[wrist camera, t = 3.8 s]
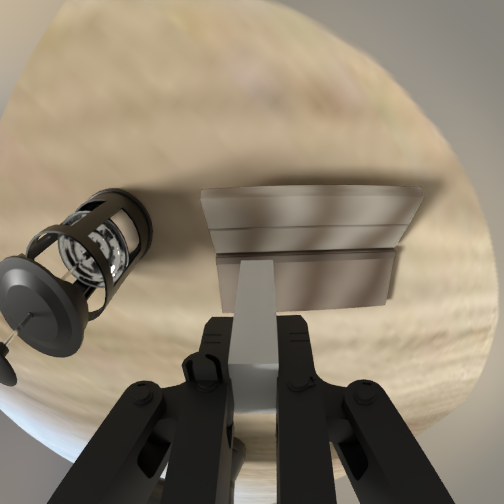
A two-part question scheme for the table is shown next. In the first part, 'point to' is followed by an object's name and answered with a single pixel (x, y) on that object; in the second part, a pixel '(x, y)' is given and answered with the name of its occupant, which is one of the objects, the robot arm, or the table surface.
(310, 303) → the laid board
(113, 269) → the french press
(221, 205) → the plank
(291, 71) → the table surface
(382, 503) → the robot arm
